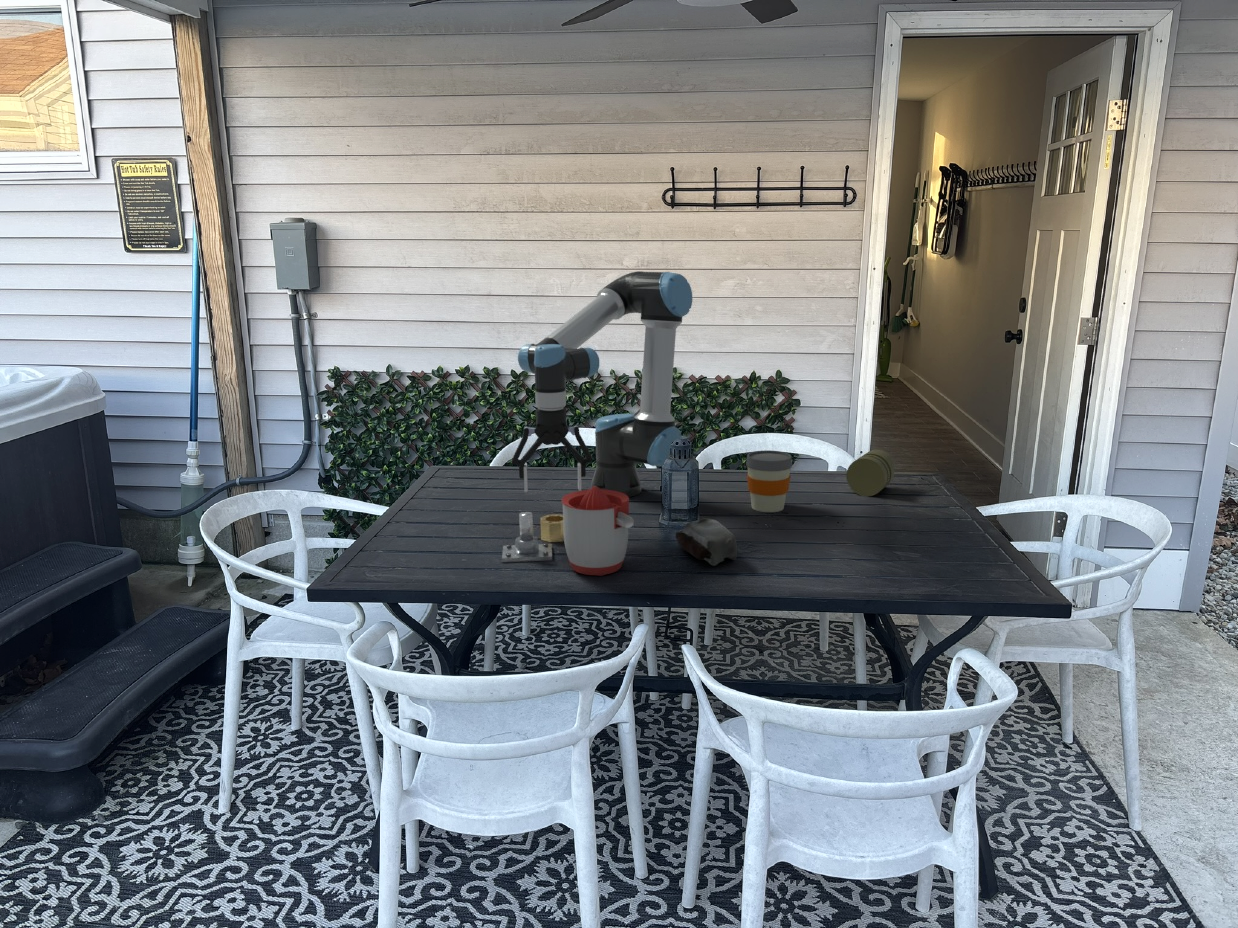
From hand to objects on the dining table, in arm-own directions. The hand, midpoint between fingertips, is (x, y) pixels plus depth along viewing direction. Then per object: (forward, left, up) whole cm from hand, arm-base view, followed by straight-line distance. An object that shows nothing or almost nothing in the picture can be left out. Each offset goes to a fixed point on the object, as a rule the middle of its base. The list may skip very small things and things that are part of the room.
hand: (552, 489), depth 236 cm
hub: (0, 0, -13) cm, 13 cm away
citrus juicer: (-10, +23, -13) cm, 28 cm away
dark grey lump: (-36, +19, -13) cm, 43 cm away
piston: (-94, -30, -13) cm, 100 cm away
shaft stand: (+7, +12, -13) cm, 19 cm away
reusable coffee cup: (-60, -18, -13) cm, 64 cm away
